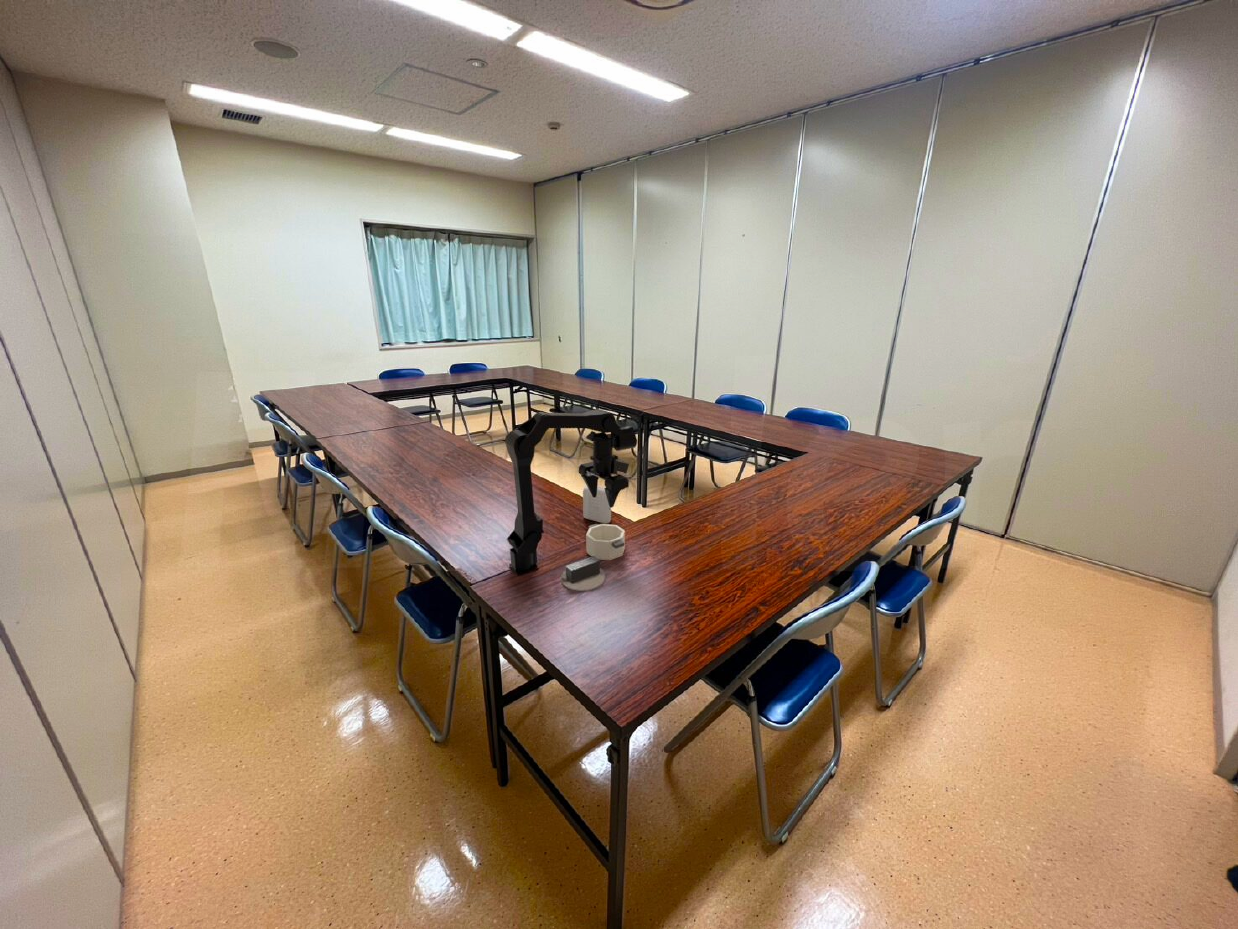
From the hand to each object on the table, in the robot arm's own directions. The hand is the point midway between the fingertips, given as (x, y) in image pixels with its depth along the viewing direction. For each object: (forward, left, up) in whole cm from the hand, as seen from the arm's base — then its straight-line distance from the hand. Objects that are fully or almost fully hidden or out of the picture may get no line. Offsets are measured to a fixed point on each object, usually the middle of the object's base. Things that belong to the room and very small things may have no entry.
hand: (602, 502), depth 144 cm
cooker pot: (-2, -4, -14) cm, 15 cm away
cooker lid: (-15, -13, -14) cm, 25 cm away
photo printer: (+8, +15, -14) cm, 23 cm away
